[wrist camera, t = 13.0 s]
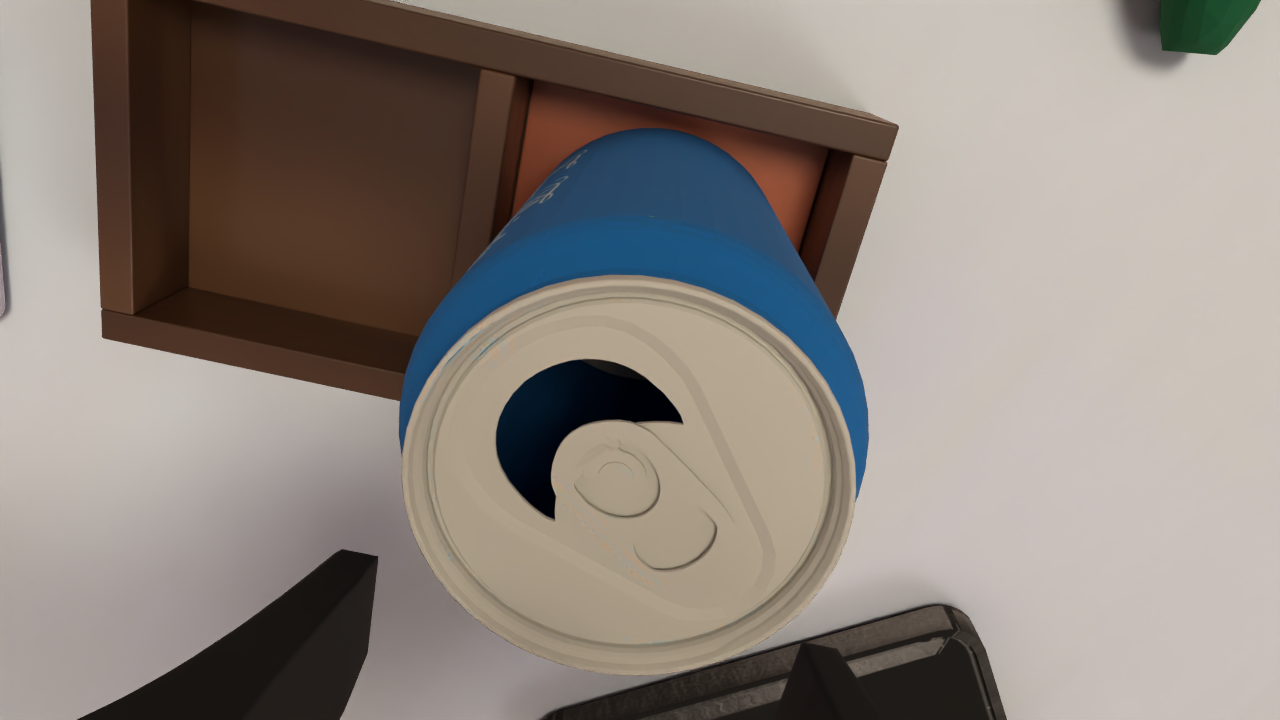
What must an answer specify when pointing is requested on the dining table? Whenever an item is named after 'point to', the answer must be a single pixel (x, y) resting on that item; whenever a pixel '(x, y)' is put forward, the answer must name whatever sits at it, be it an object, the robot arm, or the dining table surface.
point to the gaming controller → (1202, 24)
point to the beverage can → (635, 417)
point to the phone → (876, 653)
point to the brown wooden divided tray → (388, 169)
